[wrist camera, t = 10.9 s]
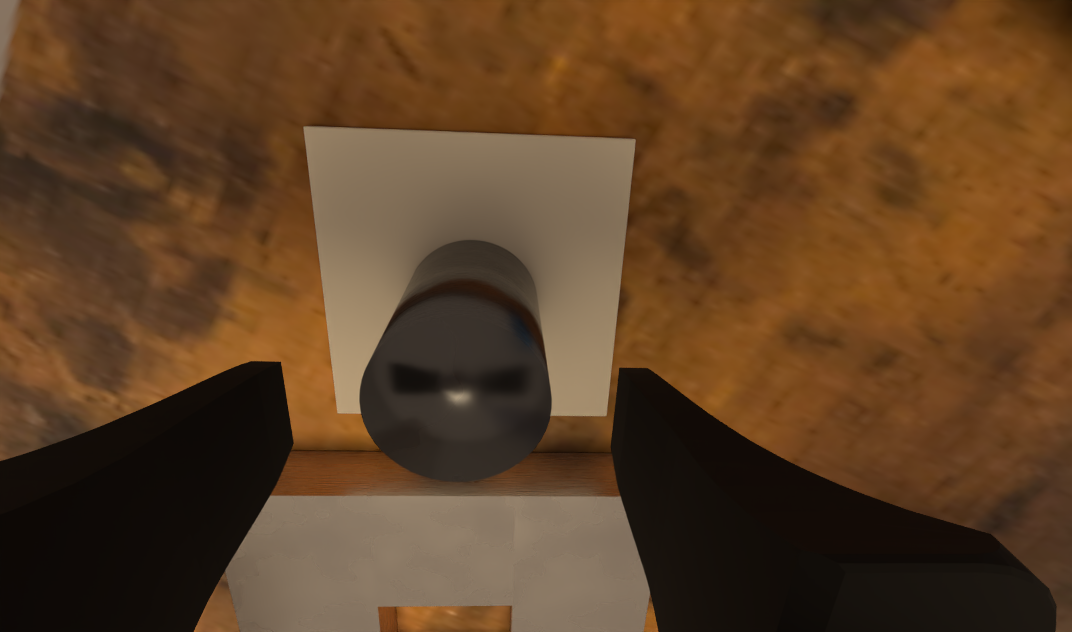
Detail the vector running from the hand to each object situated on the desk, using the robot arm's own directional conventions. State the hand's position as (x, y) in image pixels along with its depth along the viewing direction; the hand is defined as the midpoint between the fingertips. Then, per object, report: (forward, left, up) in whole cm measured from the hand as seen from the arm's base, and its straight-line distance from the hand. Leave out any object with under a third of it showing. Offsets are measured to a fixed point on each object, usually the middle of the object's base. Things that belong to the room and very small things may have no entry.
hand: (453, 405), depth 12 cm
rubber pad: (0, 0, -8) cm, 8 cm away
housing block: (+1, +15, -8) cm, 17 cm away
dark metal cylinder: (0, 0, -7) cm, 7 cm away
